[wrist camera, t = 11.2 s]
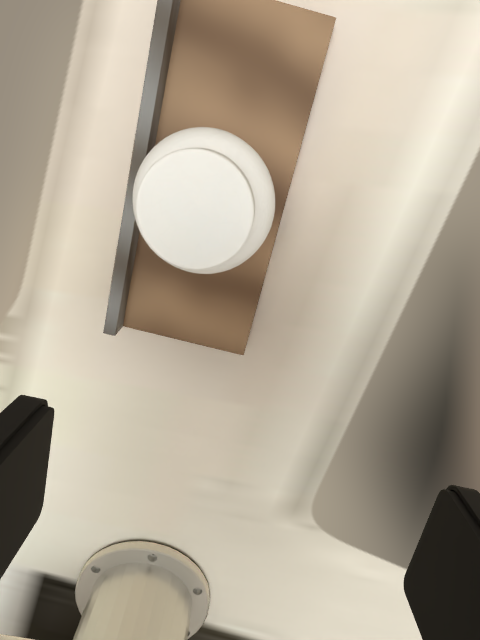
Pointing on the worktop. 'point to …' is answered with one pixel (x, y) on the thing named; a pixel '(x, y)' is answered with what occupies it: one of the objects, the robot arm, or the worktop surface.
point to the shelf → (229, 115)
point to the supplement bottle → (203, 200)
